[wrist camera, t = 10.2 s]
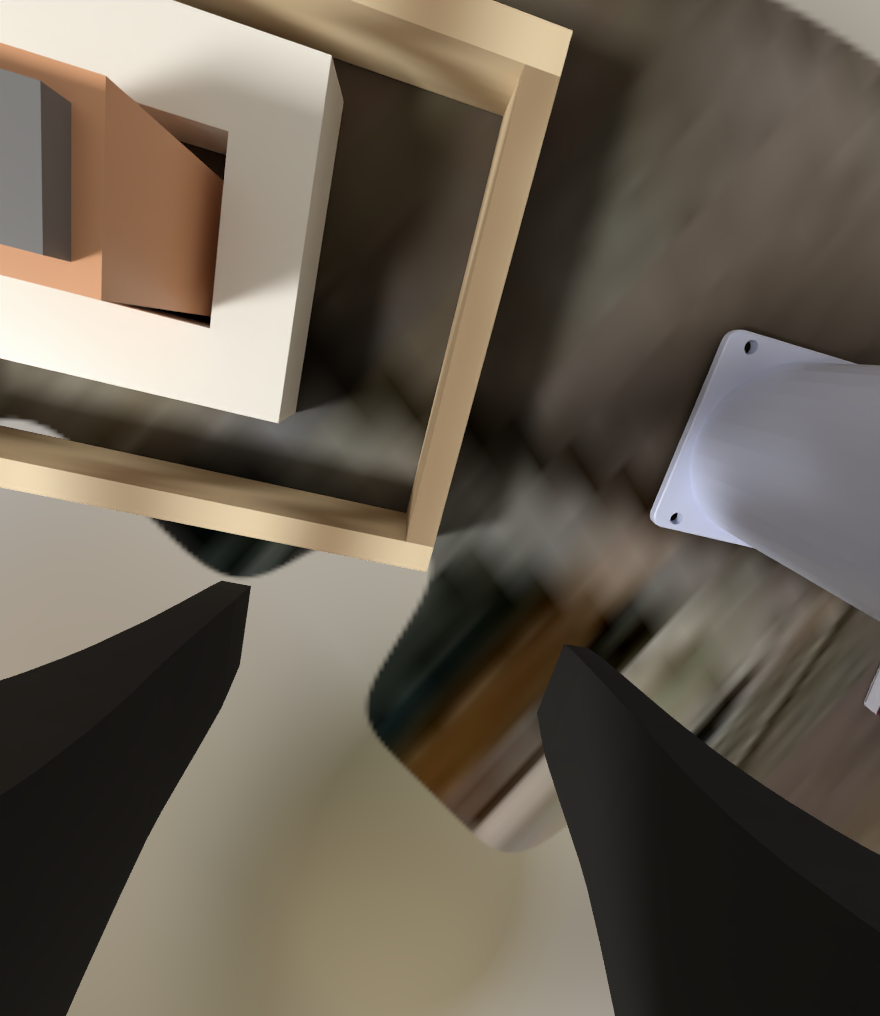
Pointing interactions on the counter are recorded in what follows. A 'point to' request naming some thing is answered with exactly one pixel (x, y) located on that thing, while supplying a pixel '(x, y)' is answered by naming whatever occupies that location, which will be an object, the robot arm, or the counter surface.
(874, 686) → the supplement box
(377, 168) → the counter surface
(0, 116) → the peg
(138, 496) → the tray
